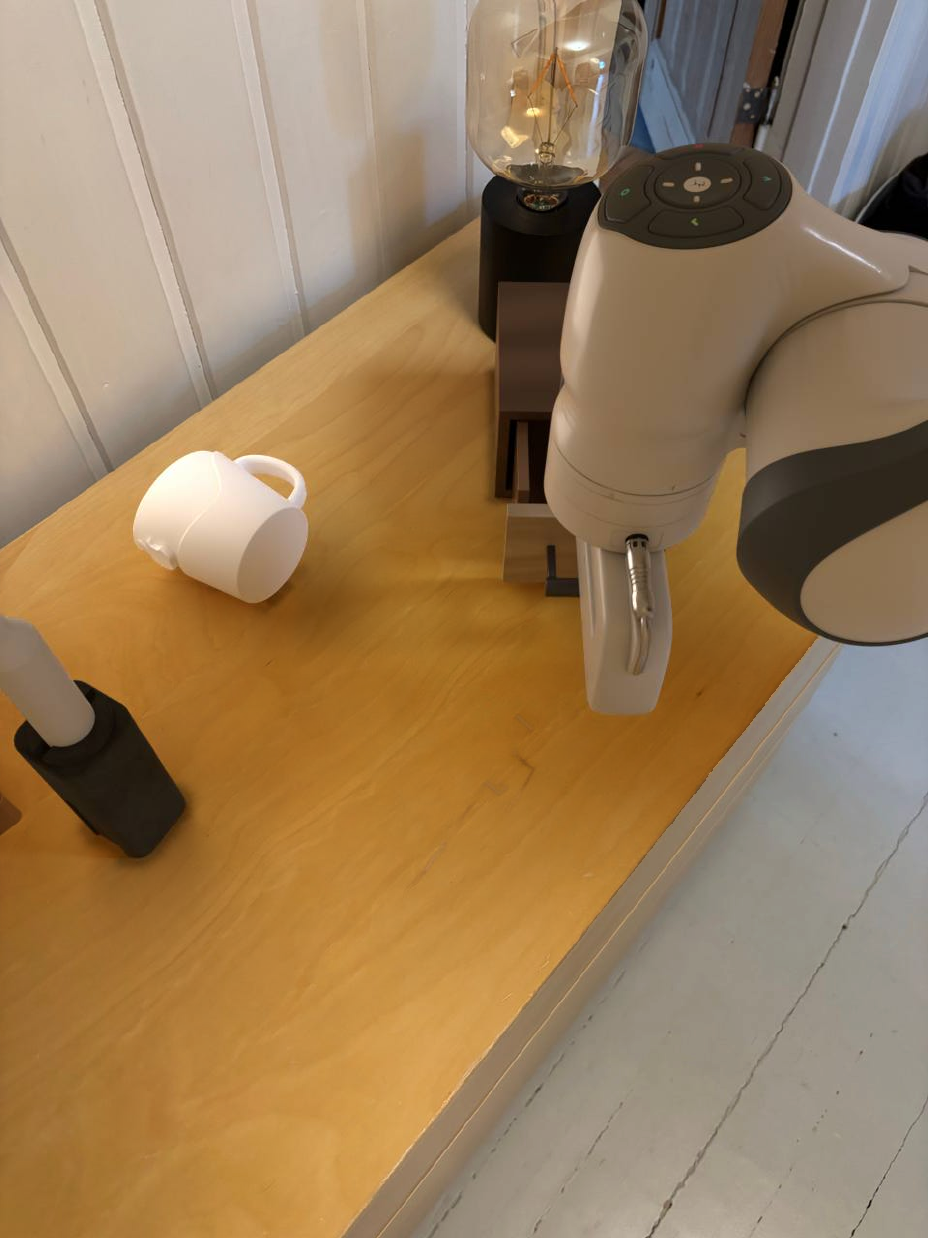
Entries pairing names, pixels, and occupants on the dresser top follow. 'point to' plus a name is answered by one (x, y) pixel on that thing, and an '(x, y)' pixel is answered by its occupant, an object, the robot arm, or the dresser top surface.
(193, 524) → the mug
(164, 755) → the dresser top surface
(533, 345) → the cabinet
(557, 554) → the drawer
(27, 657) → the candle
